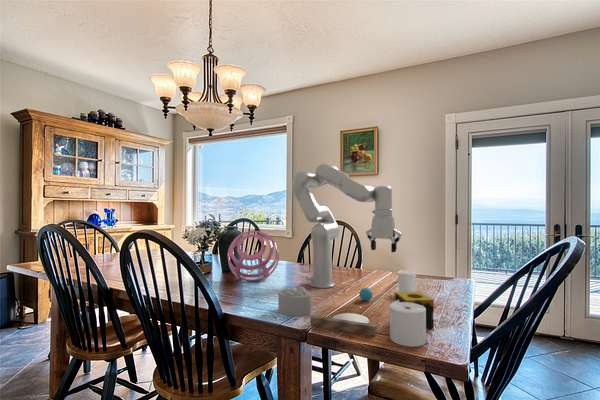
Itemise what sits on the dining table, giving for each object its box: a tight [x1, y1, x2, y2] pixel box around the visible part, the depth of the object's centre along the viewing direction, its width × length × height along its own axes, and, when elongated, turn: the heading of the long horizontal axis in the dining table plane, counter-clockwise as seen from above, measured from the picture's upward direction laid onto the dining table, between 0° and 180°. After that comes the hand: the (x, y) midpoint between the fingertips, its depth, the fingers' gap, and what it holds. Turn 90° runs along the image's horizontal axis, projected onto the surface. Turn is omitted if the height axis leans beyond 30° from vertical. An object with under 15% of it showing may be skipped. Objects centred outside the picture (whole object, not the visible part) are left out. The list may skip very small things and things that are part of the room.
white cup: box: [397, 270, 417, 292], centre depth 151 cm, size 8×8×10 cm
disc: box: [332, 312, 370, 324], centre depth 118 cm, size 13×13×1 cm
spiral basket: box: [227, 230, 280, 283], centre depth 181 cm, size 28×28×27 cm
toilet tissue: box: [389, 300, 427, 347], centre depth 102 cm, size 11×12×10 cm
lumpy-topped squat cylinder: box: [277, 286, 312, 317], centre depth 128 cm, size 10×13×9 cm
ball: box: [358, 287, 374, 302], centre depth 141 cm, size 6×6×6 cm
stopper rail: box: [310, 315, 378, 337], centre depth 109 cm, size 22×2×3 cm, turn 66°
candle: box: [394, 291, 435, 330], centre depth 114 cm, size 10×10×10 cm
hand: (383, 250), depth 150 cm, fingers open, 9 cm apart
